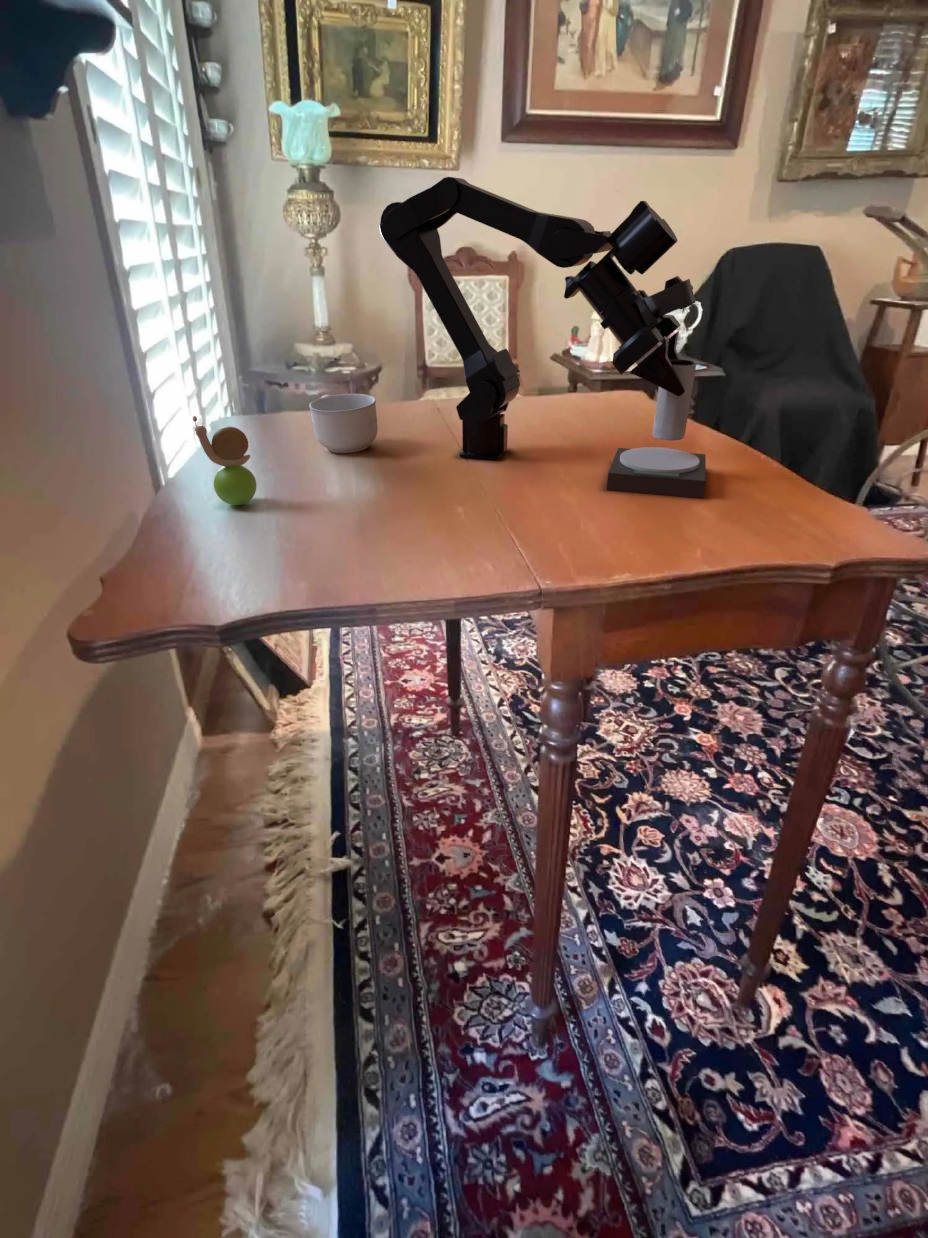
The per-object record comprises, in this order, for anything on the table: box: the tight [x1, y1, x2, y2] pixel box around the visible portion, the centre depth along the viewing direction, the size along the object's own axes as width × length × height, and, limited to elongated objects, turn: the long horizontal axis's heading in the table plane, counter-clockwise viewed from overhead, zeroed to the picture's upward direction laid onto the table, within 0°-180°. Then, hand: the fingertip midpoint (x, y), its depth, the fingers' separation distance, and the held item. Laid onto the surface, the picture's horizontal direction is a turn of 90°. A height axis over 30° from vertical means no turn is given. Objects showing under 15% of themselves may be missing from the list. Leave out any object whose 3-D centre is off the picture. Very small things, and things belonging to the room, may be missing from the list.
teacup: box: [308, 393, 378, 454], centre depth 116 cm, size 14×11×8 cm
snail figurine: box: [192, 415, 257, 506], centre depth 90 cm, size 5×6×12 cm
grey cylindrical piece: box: [652, 358, 697, 441], centre depth 97 cm, size 4×4×10 cm
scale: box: [606, 446, 707, 499], centre depth 100 cm, size 13×13×3 cm
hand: (684, 390), depth 96 cm, fingers closed on grey cylindrical piece, 4 cm apart
